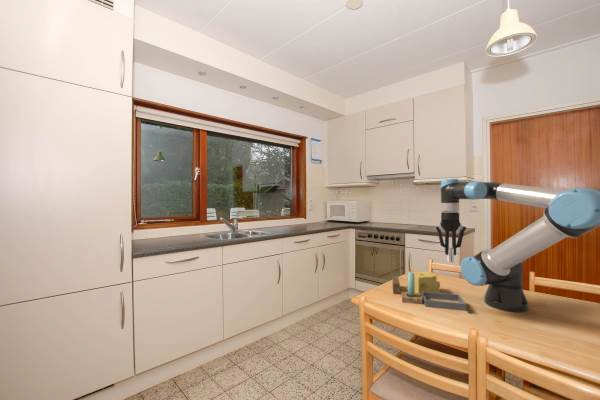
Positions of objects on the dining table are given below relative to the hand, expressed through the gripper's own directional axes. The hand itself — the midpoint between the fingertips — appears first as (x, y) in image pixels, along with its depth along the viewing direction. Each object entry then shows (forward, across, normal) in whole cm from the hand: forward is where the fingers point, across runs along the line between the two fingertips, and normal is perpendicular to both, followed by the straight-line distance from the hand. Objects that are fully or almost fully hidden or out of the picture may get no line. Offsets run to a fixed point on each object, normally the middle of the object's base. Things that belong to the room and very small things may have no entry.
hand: (450, 261), depth 128 cm
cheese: (+17, +12, 0) cm, 20 cm away
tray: (+16, +6, +13) cm, 22 cm away
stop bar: (+16, +24, 0) cm, 29 cm away
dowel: (+15, +18, +12) cm, 27 cm away
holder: (+16, +18, +12) cm, 27 cm away
